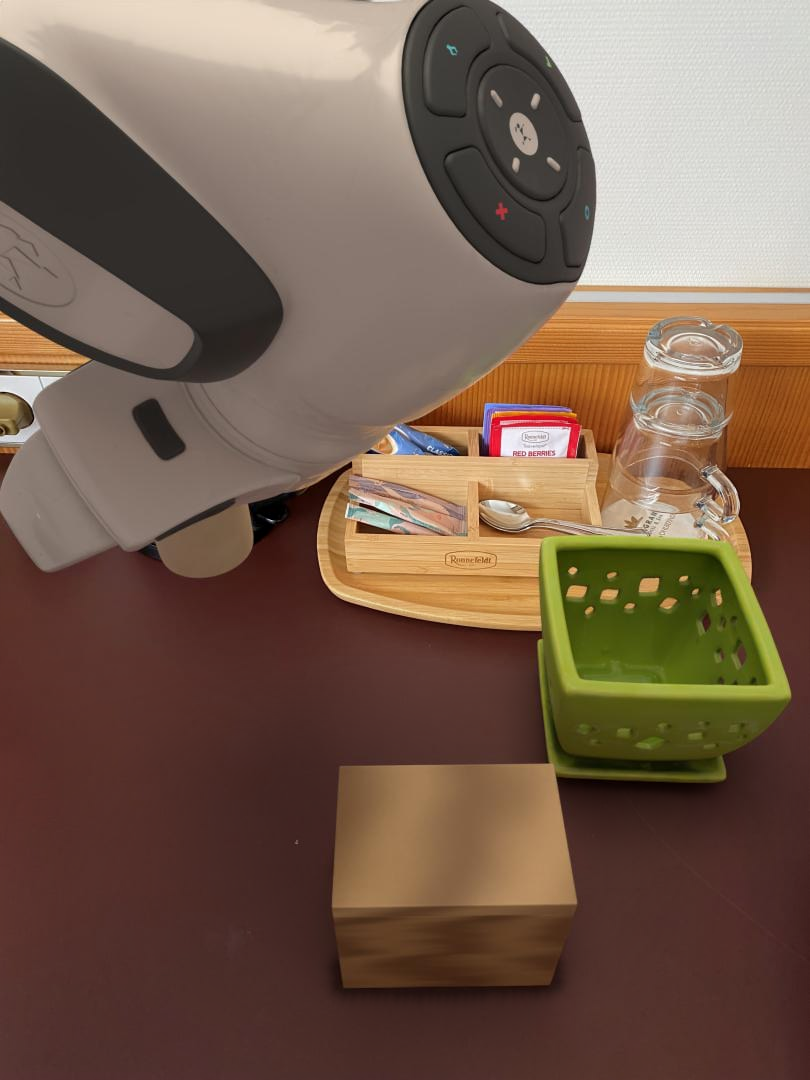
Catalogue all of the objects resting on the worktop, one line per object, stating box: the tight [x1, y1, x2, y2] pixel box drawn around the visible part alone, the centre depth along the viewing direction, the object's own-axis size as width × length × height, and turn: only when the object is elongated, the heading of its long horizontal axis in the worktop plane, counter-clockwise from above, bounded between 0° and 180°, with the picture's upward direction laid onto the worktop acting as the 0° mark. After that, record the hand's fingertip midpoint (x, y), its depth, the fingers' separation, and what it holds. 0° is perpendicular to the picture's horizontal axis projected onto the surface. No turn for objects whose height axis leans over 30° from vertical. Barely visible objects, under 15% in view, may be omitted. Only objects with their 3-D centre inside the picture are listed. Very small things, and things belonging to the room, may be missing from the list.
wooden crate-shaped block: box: [331, 763, 579, 989], centre depth 45 cm, size 12×8×11 cm, turn 91°
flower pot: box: [536, 534, 792, 784], centre depth 55 cm, size 14×14×13 cm
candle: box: [154, 503, 254, 579], centre depth 44 cm, size 6×6×10 cm
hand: (182, 470), depth 44 cm, fingers closed on candle, 5 cm apart
